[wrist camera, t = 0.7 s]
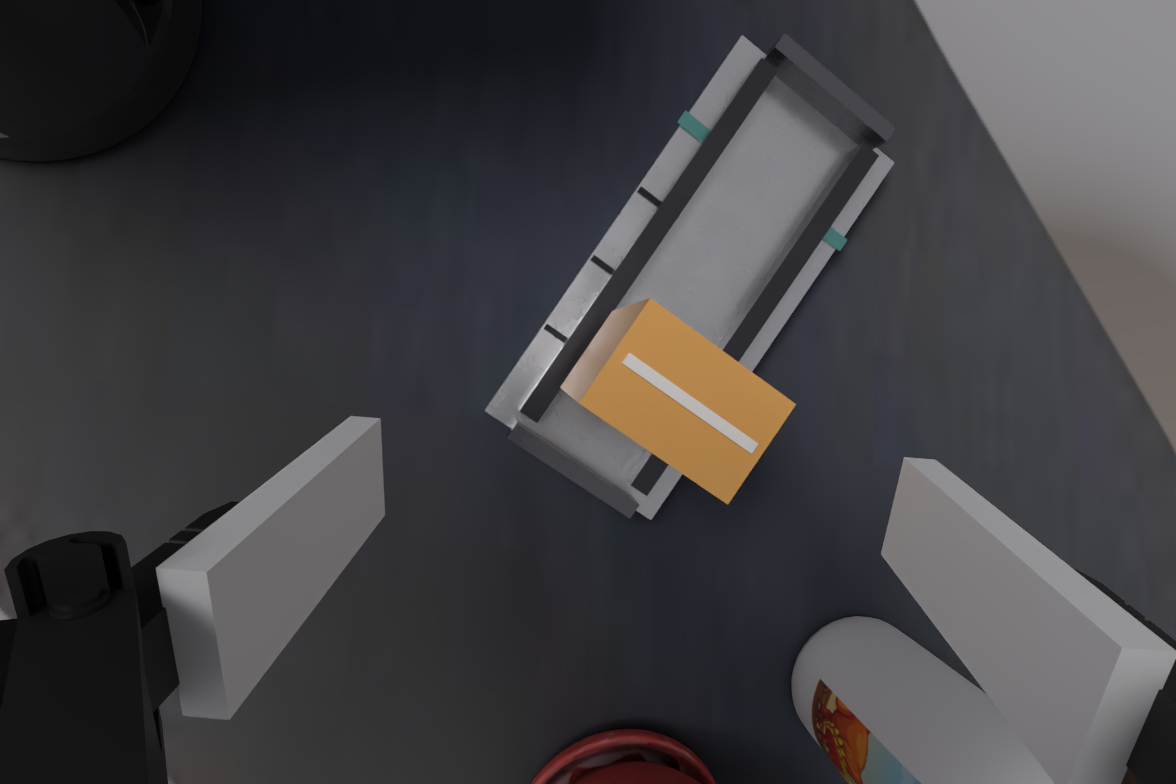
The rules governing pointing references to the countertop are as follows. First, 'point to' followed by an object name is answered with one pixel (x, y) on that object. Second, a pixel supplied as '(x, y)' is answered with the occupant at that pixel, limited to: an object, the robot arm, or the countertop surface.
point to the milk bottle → (901, 712)
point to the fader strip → (705, 250)
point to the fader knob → (678, 396)
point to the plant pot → (625, 761)
